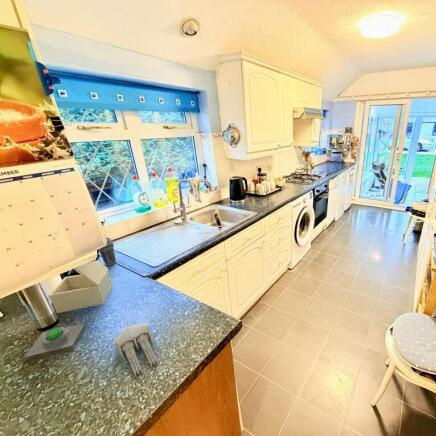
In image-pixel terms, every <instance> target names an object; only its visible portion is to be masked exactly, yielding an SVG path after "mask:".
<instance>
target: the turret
mask: <svg viewBox="0 0 436 436" xmlns="http://www.w3.org/2000/svg"><path fill="white" fill-rule="evenodd" d="M113 341H114V345H115V348H116V351H117V353H118V355H119V356H120V357H121V358H122V360H123V361H124V362H125V361H126V360H125V357H126V358H127V361H128V362H129V365H130V367H131V370H132V372H133V374H134V377H135V378H138V377H137V375H138V376H139V375H140V373H141V374H143V373H144V372H143V369H142V366H141V363H140V361H139V359H138V356H137V352H136V349H137V350H138V351H139V348H140V349H142V352H143V353H144V355H145V356H146V357H145V358H146V359H147V361H148V364H149V365H150V367H151V368H153V366H156V365H159V361H158V359H157V356H156V355H155V353H154V350H153V348H152V345H153V346H154V339H153V333H152V331H151V328H150V326H149V325H148V323H146V322H143V323H138V324H131V325H127V326H126V327H125V328H124V329H123V330H121V332H120V333H118V334H117V335H116V336H115V337H114V338H113ZM151 344H152V345H151ZM124 356H125V357H124Z"/></svg>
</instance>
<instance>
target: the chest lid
mask: <svg viewBox="0 0 436 436" xmlns="http://www.w3.org/2000/svg"><path fill="white" fill-rule="evenodd" d="M73 270H74V271H75V272H76V273H78V275H82V276H84V277H85V278H86V279H88V280H89V281H90V282H92V283H93V284H94V285H96V286H98V285H99V284H100V282H101V280H102V279H103V277H104V275H105V274H106V272H107V270H108V271H109V268H108V266H106V265H105V264H103V263H102V262H101V261H100V260H99V259H98V260H97V261H92V262H89V263H86V264H83V265H81V266H79V267H76V268H74V269H73Z"/></svg>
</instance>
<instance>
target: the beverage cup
mask: <svg viewBox="0 0 436 436" xmlns="http://www.w3.org/2000/svg"><path fill="white" fill-rule="evenodd" d="M105 237H106V236H105ZM106 239H107V245H106V246H105V247H103V248H101V249H100V251H99V252H98V253H99V255H101V258H102V260H103V262H104V265H105V267H111V266H114V265H115V264H116V263H117V261H116V254H115V248H114V241H113V240H112V239H111V238H110V237H106Z"/></svg>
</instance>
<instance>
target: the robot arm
mask: <svg viewBox="0 0 436 436" xmlns="http://www.w3.org/2000/svg"><path fill="white" fill-rule="evenodd" d="M77 165H78V167H79V170H80V172H81V175H82V177H83V179H84V180H85V178H84V174H83V172H82V169H81V166H80V165H79V164H77ZM99 219H100V218H99ZM100 220H101V223H102V225H103V226H104V225H105V222H106V220H105V219H104V218H103V219H100ZM99 251H100V249H98V250H97V254H98V255H97V258H96V260H93V261H97V260H98V261H99V260H100V258H101V257H100V252H99Z"/></svg>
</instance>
